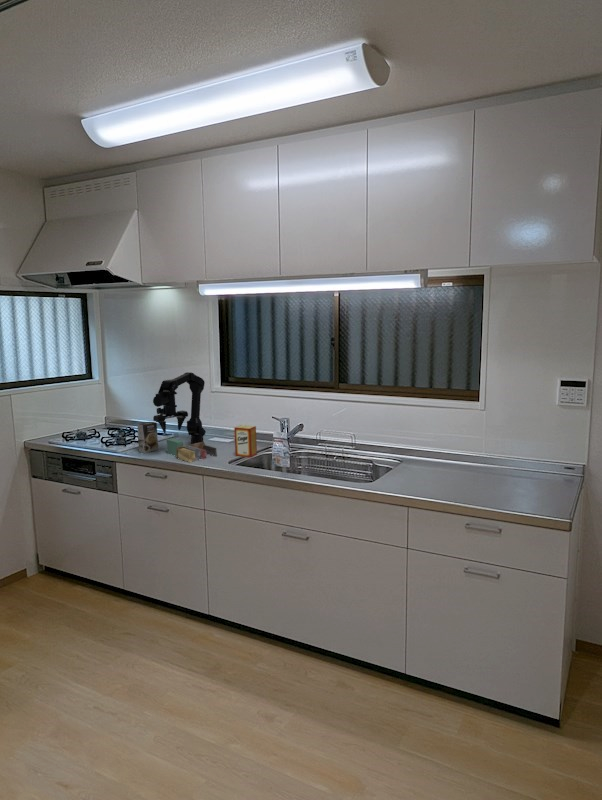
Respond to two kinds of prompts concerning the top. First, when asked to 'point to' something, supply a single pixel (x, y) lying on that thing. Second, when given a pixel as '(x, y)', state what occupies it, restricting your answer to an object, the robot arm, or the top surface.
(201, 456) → the book rack
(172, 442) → the green book
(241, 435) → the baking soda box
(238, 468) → the top surface
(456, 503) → the top surface
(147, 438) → the coffee box
